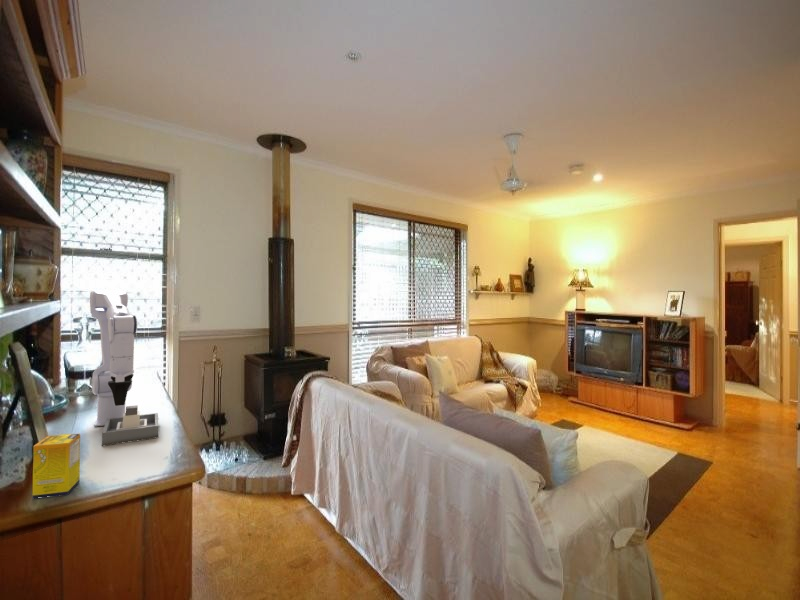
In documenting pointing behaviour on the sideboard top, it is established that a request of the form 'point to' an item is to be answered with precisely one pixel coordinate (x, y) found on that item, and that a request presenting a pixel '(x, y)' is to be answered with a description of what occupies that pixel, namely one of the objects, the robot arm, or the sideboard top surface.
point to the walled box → (130, 430)
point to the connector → (131, 417)
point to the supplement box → (56, 465)
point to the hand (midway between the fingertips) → (120, 401)
